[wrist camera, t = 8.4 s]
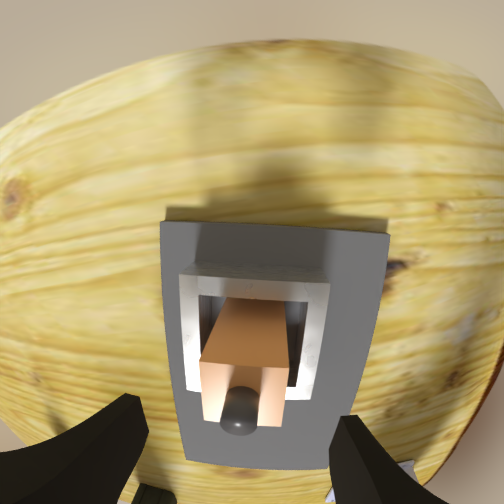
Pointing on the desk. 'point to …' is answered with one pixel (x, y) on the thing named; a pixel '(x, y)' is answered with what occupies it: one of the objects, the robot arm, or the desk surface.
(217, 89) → the desk surface
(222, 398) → the connector plug
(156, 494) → the black nozzle bottle
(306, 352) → the end holder
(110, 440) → the robot arm
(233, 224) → the mat
